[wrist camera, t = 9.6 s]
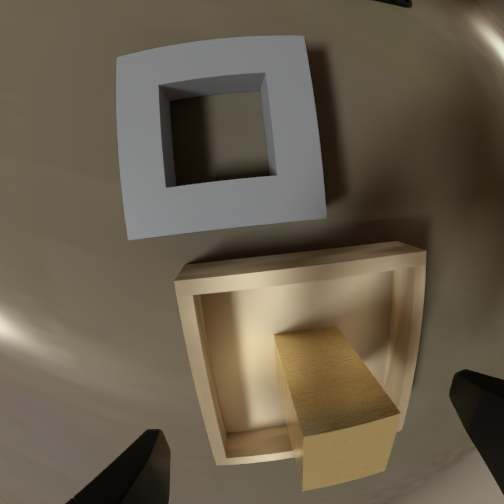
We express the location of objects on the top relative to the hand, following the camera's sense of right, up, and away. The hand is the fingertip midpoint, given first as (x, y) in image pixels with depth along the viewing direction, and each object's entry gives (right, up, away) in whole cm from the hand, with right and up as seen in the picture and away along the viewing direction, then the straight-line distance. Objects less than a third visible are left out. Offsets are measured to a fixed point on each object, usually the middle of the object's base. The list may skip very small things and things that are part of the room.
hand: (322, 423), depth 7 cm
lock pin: (+2, -2, +12) cm, 12 cm away
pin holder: (-4, +11, +9) cm, 15 cm away
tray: (+2, -2, +12) cm, 13 cm away
